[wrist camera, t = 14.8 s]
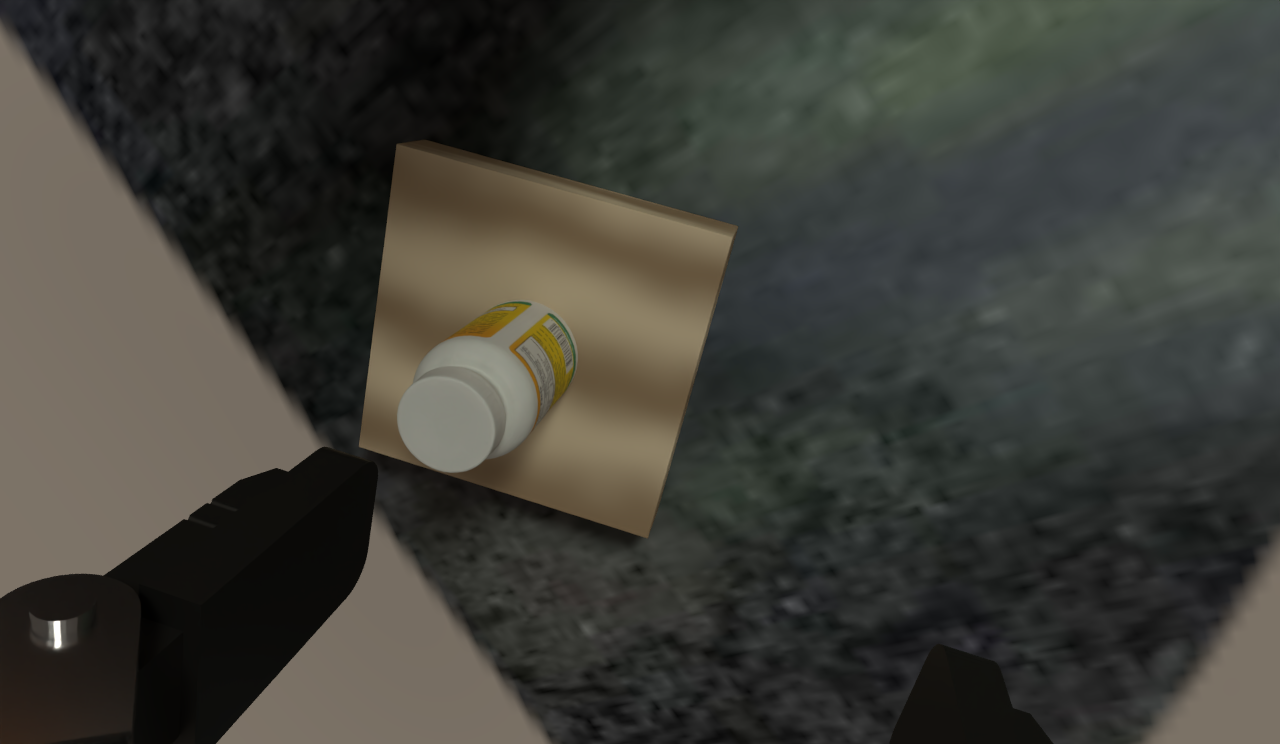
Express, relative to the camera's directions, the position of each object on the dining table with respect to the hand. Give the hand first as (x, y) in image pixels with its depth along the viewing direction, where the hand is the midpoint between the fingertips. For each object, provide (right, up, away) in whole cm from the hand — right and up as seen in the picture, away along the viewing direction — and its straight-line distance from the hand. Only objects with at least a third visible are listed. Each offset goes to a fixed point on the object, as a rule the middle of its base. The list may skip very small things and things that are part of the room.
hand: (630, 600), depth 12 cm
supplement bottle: (-5, +4, +29) cm, 30 cm away
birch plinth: (-5, +5, +32) cm, 32 cm away
